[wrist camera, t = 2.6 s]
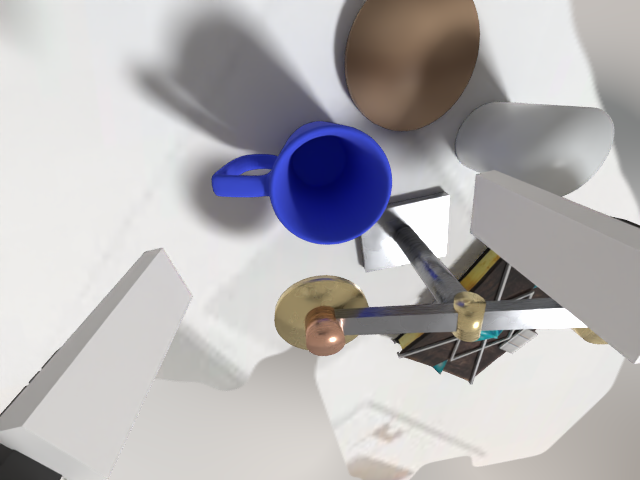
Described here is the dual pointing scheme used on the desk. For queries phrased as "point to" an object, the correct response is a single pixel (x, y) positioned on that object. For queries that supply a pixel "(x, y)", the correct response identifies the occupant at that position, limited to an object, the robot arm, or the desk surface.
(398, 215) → the balance
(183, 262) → the desk surface
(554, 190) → the white cylinder
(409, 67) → the dish
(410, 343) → the book
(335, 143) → the mug
